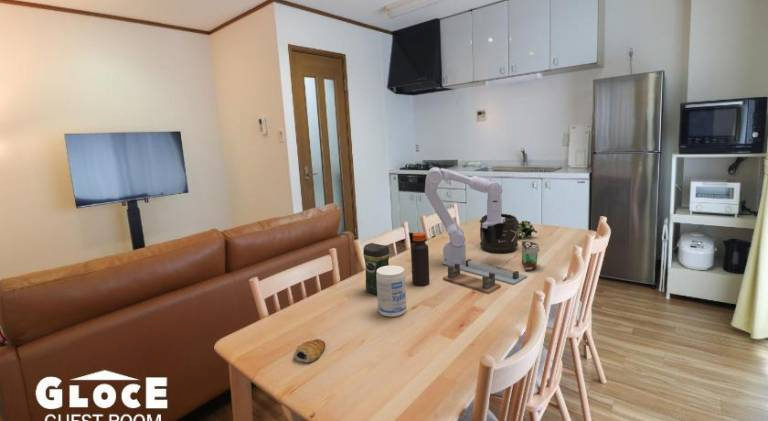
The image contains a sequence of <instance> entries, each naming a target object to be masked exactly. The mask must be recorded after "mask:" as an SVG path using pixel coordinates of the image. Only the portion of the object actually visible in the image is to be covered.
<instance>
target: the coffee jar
mask: <svg viewBox="0 0 768 421" xmlns="http://www.w3.org/2000/svg"><path fill="white" fill-rule="evenodd" d="M362 254H363V259H364V262H365V290H366V292H368V293H370V294H373V295H377V279H376V274H377V269H378V268H380V267H383V266H390V263H389V260H390V248H389V246H388V245H386V244H379V243H375V242H369V243H367V244H365V245H364V246H363V253H362Z"/></svg>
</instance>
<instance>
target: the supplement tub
mask: <svg viewBox="0 0 768 421" xmlns="http://www.w3.org/2000/svg"><path fill="white" fill-rule="evenodd" d="M376 279H377V306H378V307H377V310H378V312H379V314H380V315H381V316H385V317H393V318H394V317H399V316H401V315H403V314H405V313H406V310H407V294H406V293H407V292H406V291H407V290H406V289H407V288H406V273H405V268H404V267H403V266H399V265H390V264H389V266H383V267H380V268H378V269H377V274H376Z"/></svg>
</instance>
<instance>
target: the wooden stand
mask: <svg viewBox="0 0 768 421" xmlns="http://www.w3.org/2000/svg"><path fill="white" fill-rule="evenodd" d="M481 277H482V278H478V277H474V276H471V275H469V274H468V275H467V274H464V273H461V270H460V264H457V263H455V264H454V267H453V266H449V265H447V275H445V276H444V277H442V281H445V282H448V283H453V284H455V285H458V286H461V287H465V288H468V289H471V290H475V291H477V292H481V293H484V294H487V295H490V294H492V293H493V292H495V291H497V290H499V289H500V288H501V284H499V283H496V280H495V273H491V272H490V273H489V277H488V276H481Z"/></svg>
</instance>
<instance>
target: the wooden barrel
mask: <svg viewBox="0 0 768 421" xmlns="http://www.w3.org/2000/svg"><path fill="white" fill-rule="evenodd" d="M501 217H505V222H504V223H507V225H506V227H505V229H504V231H503V235H502V238H501V240H500V239H496V232H495V230H494V232H493V236H492V243H491V244H490V243H486V239H485V235H484V233H483V231H482V230H481V227H482V223H484V222H485V221H486V220H487V214H485V215H483V216H482V217H481V219H480V220H479V223H480V227H479V229H480V230H479V236H480V242H479V245H480V246H481V248H482V249H483V251H484V252H488V253H492V254H508V253H509V254H510V253H513V252H514V251H515V250H516V249H517V247H518V246H519V243H518V242H519V237H518V223H519V220H518V218H517V217H516V216H514V215H512V214H507V213H501ZM491 228H495V227H494V225H492V226H491Z"/></svg>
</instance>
